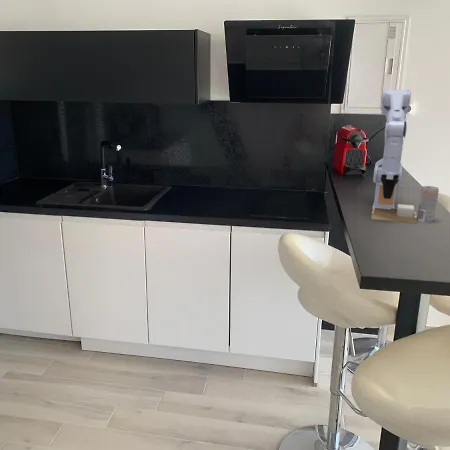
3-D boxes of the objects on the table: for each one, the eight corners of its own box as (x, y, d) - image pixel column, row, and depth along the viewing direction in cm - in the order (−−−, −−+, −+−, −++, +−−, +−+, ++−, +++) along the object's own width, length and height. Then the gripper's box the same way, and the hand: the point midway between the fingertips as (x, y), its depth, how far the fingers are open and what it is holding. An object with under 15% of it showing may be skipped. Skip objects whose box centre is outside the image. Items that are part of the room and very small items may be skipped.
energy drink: (429, 220, 160) (434, 186, 156) (436, 224, 155) (442, 189, 151) (414, 219, 160) (419, 185, 156) (421, 224, 154) (426, 189, 151)
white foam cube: (396, 216, 161) (397, 204, 160) (411, 218, 159) (413, 205, 158) (396, 220, 156) (397, 207, 155) (412, 221, 155) (414, 208, 153)
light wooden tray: (372, 214, 165) (373, 206, 165) (414, 218, 161) (415, 210, 160) (371, 220, 157) (372, 212, 156) (415, 225, 153) (416, 216, 152)
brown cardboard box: (392, 202, 160) (394, 185, 158) (392, 205, 156) (394, 187, 154) (378, 201, 161) (379, 184, 160) (377, 204, 157) (379, 186, 155)
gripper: (380, 153, 162) (375, 191, 166) (378, 159, 149) (374, 200, 152) (401, 155, 160) (396, 193, 163) (402, 160, 146) (396, 202, 150)
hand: (387, 196), depth 158 cm, fingers closed on brown cardboard box, 5 cm apart
